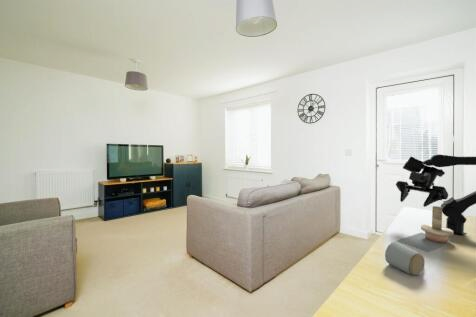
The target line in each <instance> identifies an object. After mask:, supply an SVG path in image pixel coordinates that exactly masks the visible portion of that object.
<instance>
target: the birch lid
mask: <svg viewBox="0 0 476 317" xmlns="http://www.w3.org/2000/svg"><path fill="white" fill-rule="evenodd" d="M431 216H432V217H431V224H422V225H421V226H420V229H421V231H423V232H424V233H425V232H428V233H431V234H435V235H441V236H448V237H452V236H453V235H454V234H453V231H452V230H451V229H448V228H446V226H442V225H443V212H442V207H441V206H432V215H431Z"/></svg>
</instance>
